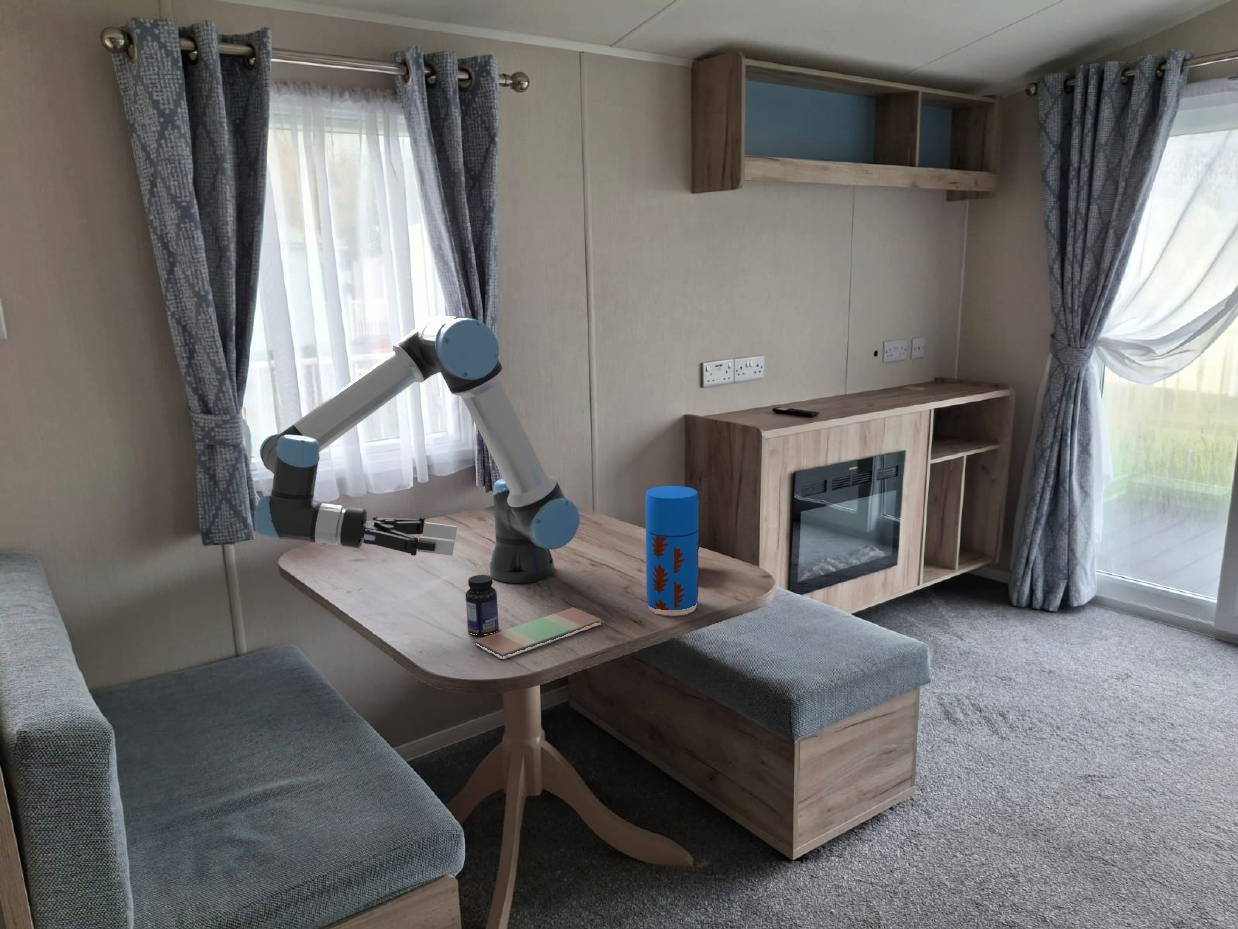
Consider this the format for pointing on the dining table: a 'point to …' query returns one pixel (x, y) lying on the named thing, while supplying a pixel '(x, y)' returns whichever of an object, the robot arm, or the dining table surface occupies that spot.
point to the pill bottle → (481, 605)
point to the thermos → (672, 547)
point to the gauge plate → (537, 631)
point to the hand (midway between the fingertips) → (455, 540)
